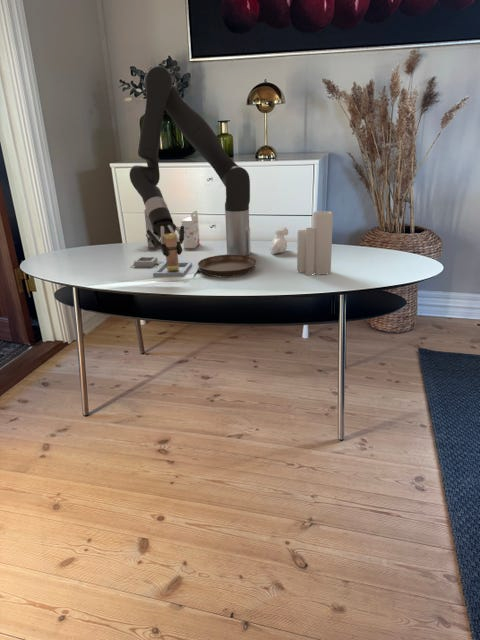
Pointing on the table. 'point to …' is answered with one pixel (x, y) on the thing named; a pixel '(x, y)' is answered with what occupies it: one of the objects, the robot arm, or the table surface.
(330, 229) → the vase
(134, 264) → the fuse block
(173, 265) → the cylinder
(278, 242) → the bust
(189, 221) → the ink cartridge box
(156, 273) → the parts tray
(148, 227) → the coffee box
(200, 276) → the table surface
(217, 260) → the plant saucer
